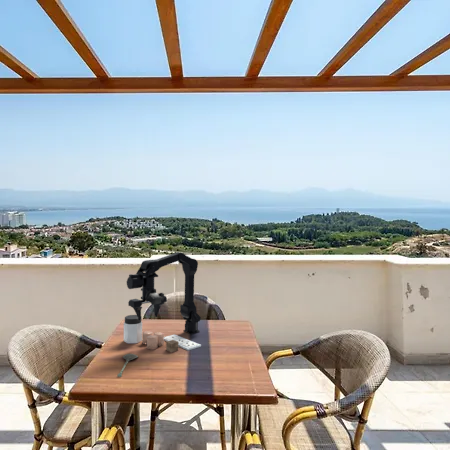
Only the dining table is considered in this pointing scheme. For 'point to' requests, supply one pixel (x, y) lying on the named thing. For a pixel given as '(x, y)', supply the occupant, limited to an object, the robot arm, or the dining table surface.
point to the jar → (132, 329)
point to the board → (183, 342)
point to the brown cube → (172, 345)
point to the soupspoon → (127, 357)
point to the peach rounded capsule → (160, 338)
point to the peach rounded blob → (152, 342)
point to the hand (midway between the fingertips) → (147, 318)
